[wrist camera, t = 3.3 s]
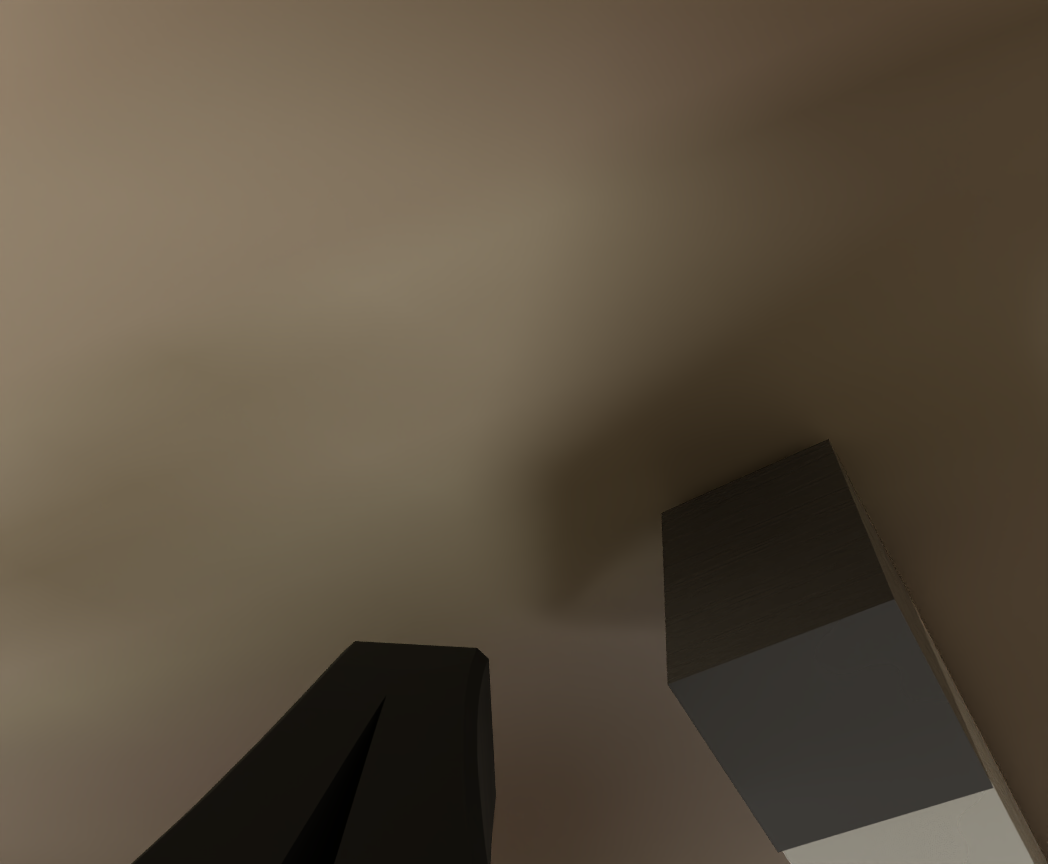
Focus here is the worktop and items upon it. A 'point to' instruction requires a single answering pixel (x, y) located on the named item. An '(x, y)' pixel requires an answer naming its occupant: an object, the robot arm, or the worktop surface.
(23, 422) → the worktop surface
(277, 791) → the robot arm
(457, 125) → the worktop surface
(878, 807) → the hinged tong arm
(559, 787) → the worktop surface
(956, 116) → the worktop surface
